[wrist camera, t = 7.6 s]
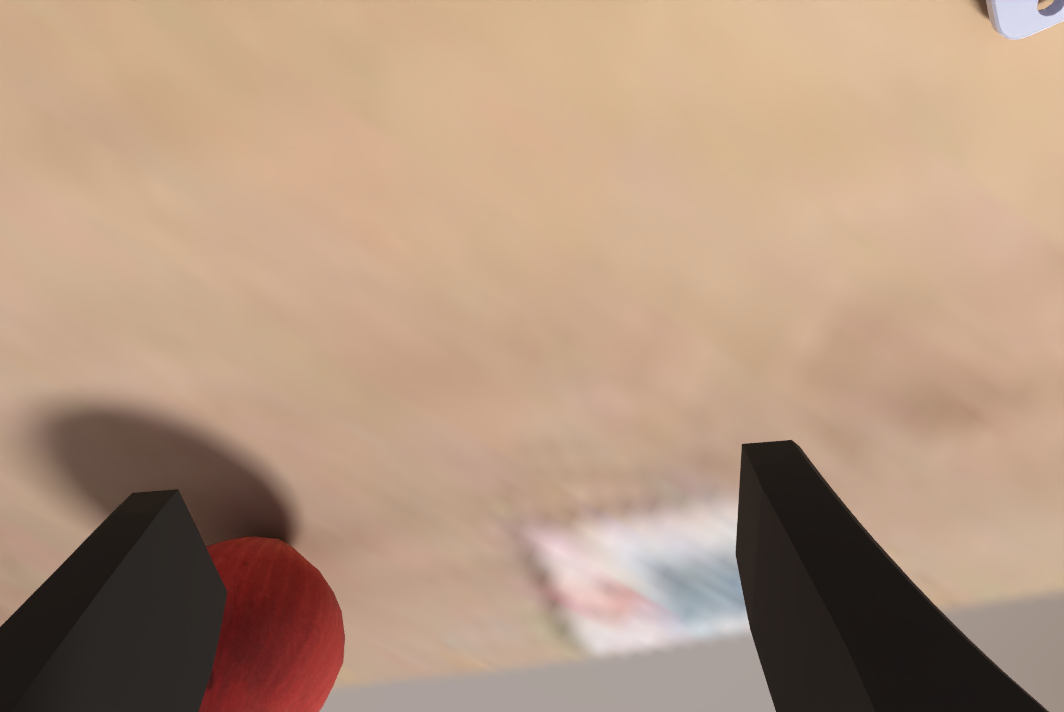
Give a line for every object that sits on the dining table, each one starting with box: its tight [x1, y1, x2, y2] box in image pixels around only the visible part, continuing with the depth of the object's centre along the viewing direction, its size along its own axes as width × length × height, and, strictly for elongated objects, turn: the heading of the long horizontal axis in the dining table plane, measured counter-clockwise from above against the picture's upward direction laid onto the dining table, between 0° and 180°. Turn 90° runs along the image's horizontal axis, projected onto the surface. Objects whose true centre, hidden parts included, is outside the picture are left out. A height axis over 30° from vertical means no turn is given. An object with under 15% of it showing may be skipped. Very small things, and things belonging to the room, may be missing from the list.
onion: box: [199, 537, 345, 712], centre depth 25 cm, size 6×6×8 cm
